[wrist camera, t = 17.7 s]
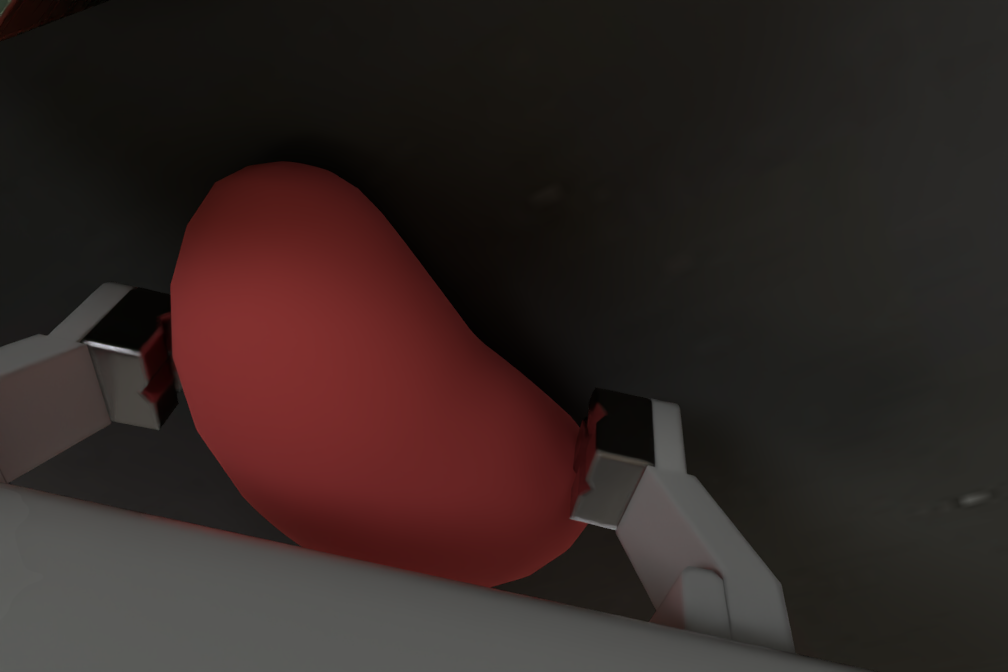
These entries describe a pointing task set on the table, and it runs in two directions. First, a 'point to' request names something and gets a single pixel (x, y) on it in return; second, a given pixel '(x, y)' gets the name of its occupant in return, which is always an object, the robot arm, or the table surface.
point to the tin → (36, 13)
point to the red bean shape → (360, 388)
